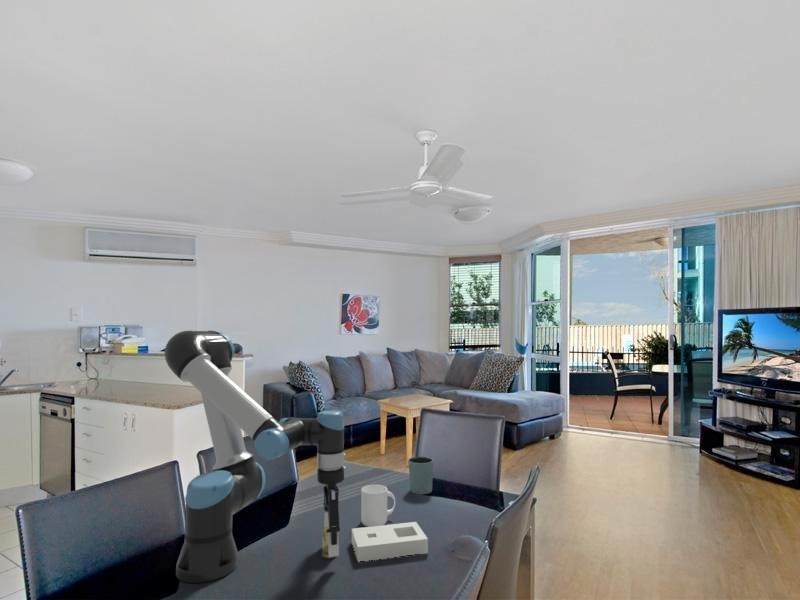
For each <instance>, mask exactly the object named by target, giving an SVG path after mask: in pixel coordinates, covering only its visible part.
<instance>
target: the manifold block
mask: <svg viewBox="0 0 800 600" xmlns="http://www.w3.org/2000/svg"><path fill="white" fill-rule="evenodd" d="M351 545H353V546H352V548H354V549H353V552H354V551H355V552H354V555H355V559H356V561H358V562H357V563H361V562H360V561H365V562H372V561H371V560H373V561H379V559H381V560H388V559H387V558H389V559H395V558H394V557H397V558H400V557H399V556H405V557H407V556H406V555H413V556H415V555H414V554H421V555H427V553H428V554H429V539H428V537H427V535H426V533H424V531H423V530H422V528H421V527H420V525H419V524H418V522H417V521H411V522H410V521H409V522H402V523H401V522H400V523H390V524H384V525H381V526H372V527H368V526H365V527H356V528H355V527H354V528H351ZM369 560H370V561H369Z"/></svg>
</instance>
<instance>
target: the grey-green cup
mask: <svg viewBox="0 0 800 600" xmlns="http://www.w3.org/2000/svg"><path fill="white" fill-rule="evenodd" d="M407 464H408V473H409V474H408V477H409V487H410V492H411V493H412V494H416V495H426V494H427V495H428V494H431V493H432V491H433V479H434V478H433V476H434V475H433V474H434V471H433V470H434V459H433V458H432V457H429V456H414V457H413V456H412V457H410V458H408V459H407Z"/></svg>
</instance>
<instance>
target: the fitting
mask: <svg viewBox="0 0 800 600" xmlns="http://www.w3.org/2000/svg"><path fill="white" fill-rule="evenodd" d="M333 527H335V526H333ZM327 529H329V526H328V527H325V528H324V527H323V529H322V552H321V556H322V558H323V559H326V560H332V559H335V558H336V557H337V556H334V557H329V556H328V533H327V532H326V530H327ZM331 558H332V559H331Z"/></svg>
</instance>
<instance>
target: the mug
mask: <svg viewBox="0 0 800 600" xmlns="http://www.w3.org/2000/svg"><path fill="white" fill-rule="evenodd" d="M360 493H361V498H360V499H361V506H360V509H361V511H360V512H361V513H360V517H361V519H360V520H361V523H362V525H363V526H365V527H372V526H381V525H387V524H386V523H387V522H388V516H390V515H391V514H393V512H394V510H395V507H396V496H395V495H394V494H393V493H392V492H391V491H389V490H388V488H387V486H385V485H382V484H369V485H365V486H363V487H362V488H361V492H360ZM388 497H391V498H392V499H393V503H394V504H393V506H392V508H391V509H390V508H389V509H388Z"/></svg>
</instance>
